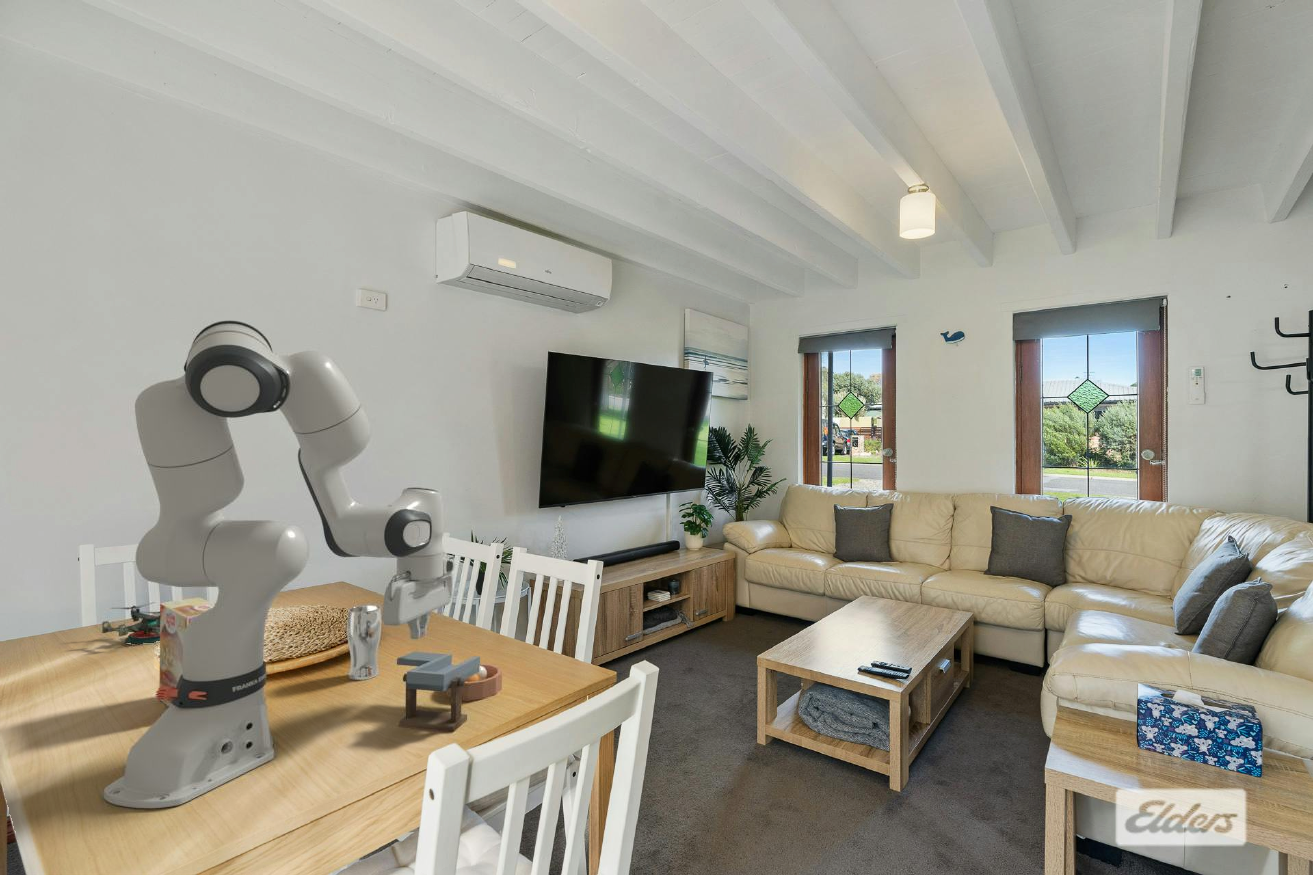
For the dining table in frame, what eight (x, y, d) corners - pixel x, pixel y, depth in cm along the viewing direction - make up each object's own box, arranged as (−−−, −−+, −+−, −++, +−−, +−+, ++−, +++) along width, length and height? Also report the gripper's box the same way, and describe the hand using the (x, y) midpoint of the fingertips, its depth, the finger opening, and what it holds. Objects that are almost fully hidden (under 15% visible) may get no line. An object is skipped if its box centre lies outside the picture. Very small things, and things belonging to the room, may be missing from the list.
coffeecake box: (157, 699, 124) (158, 602, 125) (199, 688, 130) (200, 596, 130) (181, 719, 115) (183, 615, 115) (225, 706, 121) (227, 607, 121)
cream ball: (486, 663, 132) (491, 671, 134) (471, 661, 133) (476, 669, 135) (480, 678, 129) (485, 686, 132) (465, 677, 130) (470, 685, 132)
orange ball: (474, 694, 127) (472, 678, 126) (458, 692, 127) (457, 677, 127) (482, 684, 130) (480, 669, 129) (466, 682, 131) (465, 667, 130)
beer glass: (386, 670, 141) (387, 604, 141) (369, 681, 134) (370, 612, 134) (358, 668, 142) (359, 603, 142) (339, 680, 135) (340, 611, 135)
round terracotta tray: (486, 702, 124) (486, 684, 124) (436, 697, 126) (436, 680, 126) (509, 681, 135) (509, 665, 135) (462, 677, 137) (463, 661, 137)
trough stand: (455, 731, 111) (456, 683, 111) (396, 726, 113) (397, 678, 113) (469, 719, 116) (469, 673, 116) (412, 714, 118) (412, 669, 118)
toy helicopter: (199, 636, 165) (200, 605, 165) (133, 654, 150) (133, 620, 150) (153, 628, 172) (154, 598, 172) (86, 644, 158) (86, 611, 158)
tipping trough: (443, 691, 111) (444, 674, 111) (370, 685, 114) (371, 668, 114) (479, 671, 125) (480, 656, 125) (413, 666, 127) (414, 651, 128)
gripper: (405, 577, 113) (403, 653, 113) (458, 560, 134) (457, 625, 133) (374, 576, 114) (371, 651, 114) (431, 559, 135) (430, 623, 134)
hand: (418, 637), depth 124 cm, fingers closed
